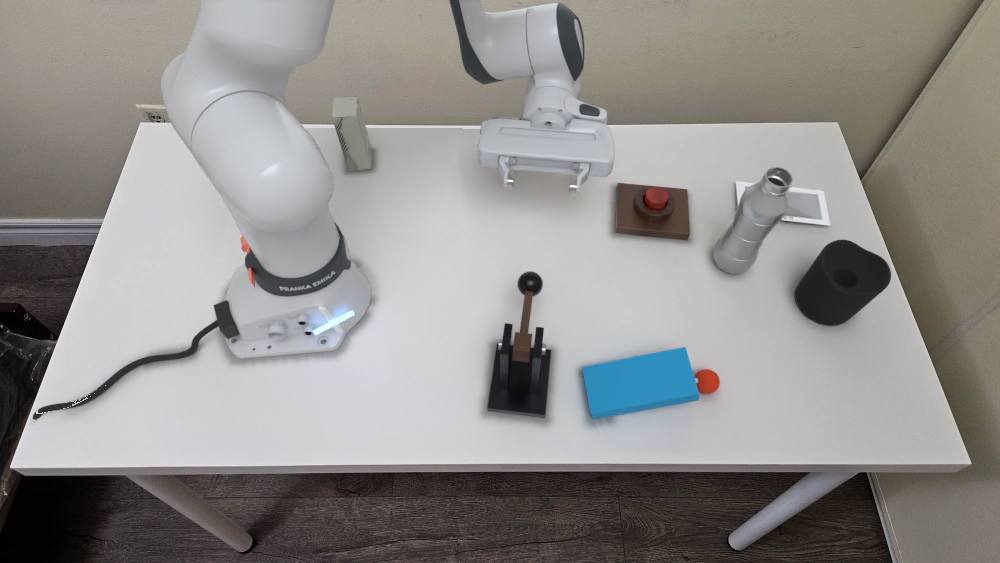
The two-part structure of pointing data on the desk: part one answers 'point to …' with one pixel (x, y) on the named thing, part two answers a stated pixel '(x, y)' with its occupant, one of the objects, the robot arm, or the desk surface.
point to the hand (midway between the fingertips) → (541, 188)
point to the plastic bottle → (753, 221)
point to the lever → (526, 315)
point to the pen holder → (841, 282)
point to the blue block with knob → (645, 383)
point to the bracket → (520, 378)
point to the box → (352, 133)
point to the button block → (651, 213)
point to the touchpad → (799, 204)
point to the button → (656, 198)
